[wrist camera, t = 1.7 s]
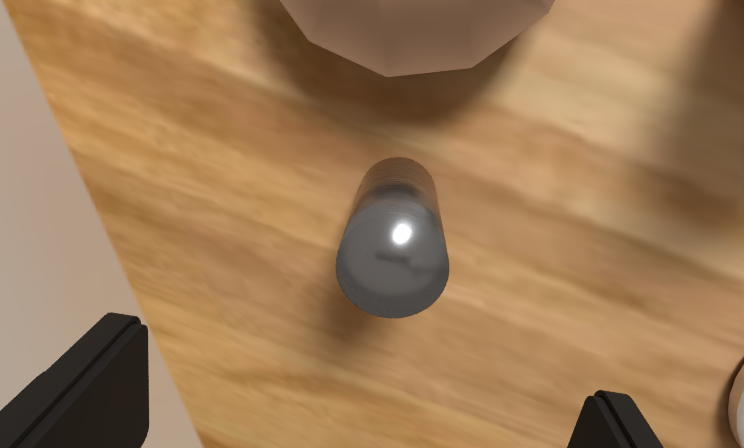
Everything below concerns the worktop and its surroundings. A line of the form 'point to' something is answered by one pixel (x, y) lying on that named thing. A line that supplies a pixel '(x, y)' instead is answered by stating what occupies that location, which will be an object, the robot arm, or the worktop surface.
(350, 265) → the peg
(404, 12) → the bead
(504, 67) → the worktop surface
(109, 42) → the worktop surface
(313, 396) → the worktop surface
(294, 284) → the worktop surface
